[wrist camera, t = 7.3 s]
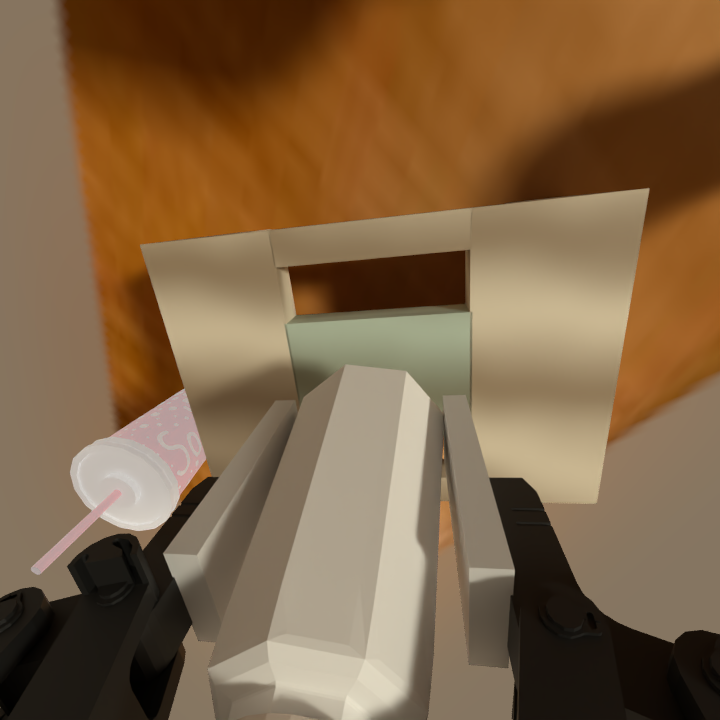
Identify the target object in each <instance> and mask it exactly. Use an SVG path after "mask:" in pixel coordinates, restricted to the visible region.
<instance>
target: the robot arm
mask: <svg viewBox="0 0 720 720" xmlns="http://www.w3.org/2000/svg"><path fill="white" fill-rule="evenodd" d="M297 414H298V412H297V406H296V401H295V400H276V401H275V402H274V403H273V405H272V406H271V408H270V409H269V410H268V412H267V413H266V414H265V416H264V417H263V418H262V420H261V421H260V422H259V424H258V425H257V427H256V428H255V429H254V431H253V432H252V433H251V435H250V436H249V437H248V439H247V440H246V441H245V443H244V444H243V446H242V447H241V448H240V450H239V451H238V452H237V454H236V455H235V456H234V458H233V459H232V460H231V462H230V463H229V465H228V466H227V467H226V469H225V470H224V471H223V473H222V474H221V475H220V477H207V478H206V479H205V480H203V481H202V482H201V483H199V484H198V485H197V486H195V487H194V488H193V489H192V490H191V491H190V492H189V494H188V495H187V496H186V497H185V499H184V500H183V501H182V502H181V505H180V506H178V508H177V509H176V510H175V511H174V512H173V514H172V517H170V518H169V519H168V520H167V521H166V522H165V524H164V525H163V526H162V528H161V529H160V530H159V531H158V532H157V534H156V535H155V536H154V537H153V539H152V540H151V541H150V542H149V544H148V545H147V546H146V547H145V549H144V550H143V551H142V549H141V546H140V544H139V541H138V539H137V537H135V536H133V535H131V534H116V535H113V536H110V537H106V538H104V539H102V540H100V541H98V542H96V543H94V544H92V545H90V546H89V547H88V548H86V549H85V550H83V551H82V552H81V553H79V554H78V555H77V556H76V557H75V558H74V559H73V560H72V562H71V563H70V564H69V565H68V566H67V567H68V569H69V571H70V573H71V575H72V577H73V578H74V580H75V582H76V584H77V586H78V588H79V589H80V591H81V593H82V594H80V595H75V596H71V597H67V598H63V599H59V600H55V601H51V602H49V601H48V599H47V598H46V596H45V594H44V593H43V591H42V590H41V589H38V588H35V587H31V588H23V589H20V590H17V591H14V592H12V593H10V594H7V595H5V596H3V597H2V598H0V707H1V708H0V720H168V718H169V714H170V711H171V708H172V704H173V701H174V697H175V694H176V690H177V686H178V683H179V680H180V676H181V672H182V669H183V666H184V661H185V649H184V646H183V643H182V641H183V639H184V638H185V636H186V634H187V632H188V630H189V628H190V626H191V625H192V626H193V629H194V631H195V634H196V636H197V639H198V641H206V642H216V640H217V637H218V634H219V631H220V628H221V624H222V621H223V618H224V615H225V612H226V609H227V607H228V604H229V601H230V598H231V596H232V593H233V590H234V587H235V585H236V582H237V579H238V576H239V574H240V571H241V568H242V565H243V563H244V560H245V557H246V554H247V552H248V549H249V546H250V543H251V541H252V538H253V535H254V532H255V530H256V527H257V524H258V521H259V519H260V516H261V513H262V510H263V508H264V505H265V502H266V499H267V497H268V494H269V491H270V488H271V486H272V483H273V480H274V477H275V475H276V472H277V469H278V466H279V464H280V461H281V458H282V455H283V453H284V450H285V447H286V444H287V442H288V439H289V436H290V433H291V431H292V428H293V425H294V422H295V420H296V417H297ZM443 417H444V463H445V471H446V479H447V488H448V496H449V504H450V513H451V521H452V529H453V538H454V546H455V554H456V562H457V571H458V579H459V587H460V595H461V603H462V612H463V620H464V629H465V637H466V645H467V654H468V662H469V665H478V666H489V667H500V668H508V663H509V657H510V661H511V666H512V671H513V675H514V680H515V684H514V696H513V708H512V719H513V720H720V634H716V633H711V632H708V631H703V630H698V631H688V632H685V633H683V634H682V635H681V636H680V637H678V638H677V639H676V640H675V643H671V642H668V641H665V640H662V639H659V638H657V637H654V636H651V635H648V634H645V633H642V632H639V631H637V630H634V629H631V628H629V627H627V626H624V625H622V624H620V623H618V622H616V621H614V620H613V619H611V618H610V617H608V616H606V615H604V614H603V613H602V612H601V611H600V610H599V609H598V608H597V607H596V605H595V604H594V603H593V602H592V601H591V600H590V599H589V598H587V597H586V596H585V595H584V594H583V593H582V591H581V589H580V587H579V586H578V584H577V582H576V580H575V577H574V575H573V573H572V571H571V569H570V566H569V564H568V562H567V559H566V557H565V555H564V552H563V550H562V548H561V546H560V543H559V541H558V539H557V536H556V534H555V532H554V530H553V527H552V526H551V524H550V521H549V518H548V516H547V514H546V512H545V511H544V507H543V505H542V502H541V500H540V498H539V495H538V493H537V491H536V490H534V489H533V488H532V487H531V486H530V485H529V484H528V483H527V482H526V481H525V480H524V479H523V478H489V476H488V473H487V469H486V465H485V462H484V458H483V455H482V451H481V448H480V444H479V441H478V437H477V433H476V430H475V426H474V423H473V419H472V416H471V412H470V409H469V405H468V402H467V398H466V395H445V396H443Z"/></svg>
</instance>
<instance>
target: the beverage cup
mask: <svg viewBox="0 0 720 720" xmlns="http://www.w3.org/2000/svg"><path fill="white" fill-rule="evenodd" d="M205 460H206V456H205V453H204V449H203V446H202V443H201V440H200V437H199V433H198V430H197V427H196V424H195V420H194V417H193V414H192V411H191V408H190V404H189V401H188V398H187V395H186V392H185V388H184V389H183V390H181V391H179V392H178V393H176V394H175V395H173V396H172V397H170V398H169V399H167V400H166V401H164V402H162V403H161V404H159V405H158V406H156V407H155V408H153V409H152V410H150V411H148V412H147V413H145V414H144V415H142V416H141V417H139V418H138V419H136V420H135V421H133V422H131V423H130V424H128V425H127V426H125V427H124V428H122V429H121V430H119V431H118V432H116V433H114V434H113V435H111V436H110V437H108V438H104V439H99V440H96V441H95V442H94V443H93V444H91V445H88V446H86V447H85V448H84V449H83V450H81V451H80V453H78V454H77V455H76V456H75V457H74V458H73V461H72V466H71V470H70V475H71V478H72V482H73V486H74V489H75V491H76V492H77V494H78V495H79V497H80V498H81V499H82V501H83V502H84V504H85V505H86V506H87V507H88V508H90V509H91V510H92V511H91V512H90V514H88V515H87V516H86V517H85V518H84V519H83V520H82V521H81V522H80V523H79V524H78V525H76V527H74V528H73V529H72V530H71V531H70V532H69V533H68V534H67V535H66V536H65V537H64V538H63V539H61V540H60V541H59V542H58V543H57V544H56V545H55V546H54V547H53V548H52V549H51V550H50V551H49V552H47V553H46V555H44V556H43V557H42V558H41V559H40V560H39V561H38V562H37V563H36V564H35V565H33V567H31V570H32V572H34V573H35V574H41V573H42V572H43V571H44V570H45V569H46V568H47V567H48V566H49V565H50V564H51V563H52V562H53V561H54V560H55V559H56V558H57V557H58V556H59V555H60V554H61V553H62V552H63V551H64V550H65V549H67V548H68V547H69V546H70V545H71V544H72V543H73V542H74V541H75V540H76V539H77V538H78V537H79V536H80V535H81V534H82V533H83V532H84V531H85V530H86V529H87V528H88V527H89V526H90V525H91V524H92V523H93V522H94V521H95V520H96V519H97V518H98V517H101V518H102V519H104V520H106V521H108V522H110V523H112V524H114V525H116V526H118V527H121V528H126V529H131V530H136V531H141V530H148V529H155V528H156V527H158V526H159V525H161V524H162V523H163V522H165V521H166V520H167V519H168V518H169V517H170V514H171V512H172V511H173V510H174V509H175V507H176V505H177V502H178V500H179V497H180V494H181V493H182V491H183V490H184V489H185V487H186V486H187V485H188V483H189V482H190V480H191V479H192V478H193V476H194V475H195V473H196V472H197V471H198V469H199V468H200V466H201V465H202V464H203V462H204V461H205Z"/></svg>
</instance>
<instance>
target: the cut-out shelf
mask: <svg viewBox="0 0 720 720" xmlns="http://www.w3.org/2000/svg"><path fill="white" fill-rule="evenodd" d="M649 189H650V188H647V189H636V190H626V191H616V192H605V193H595V194H584V195H574V196H564V197H555V198H546V199H537V200H528V201H519V202H510V203H506V204H500V205H491V206H482V207H473V208H464V209H455V210H446V211H437V212H428V213H419V214H410V215H401V216H392V217H383V218H374V219H365V220H356V221H347V222H338V223H329V224H320V225H311V226H302V227H293V228H284V229H275V230H271V229H268V230H259V231H250V232H241V233H232V234H223V235H215V236H207V237H199V238H191V239H183V240H175V241H167V242H159V243H151V244H143V245H140V247H141V250H142V253H143V257H144V260H145V263H146V266H147V269H148V273H149V276H150V279H151V282H152V286H153V289H154V292H155V295H156V298H157V302H158V305H159V308H160V311H161V314H162V318H163V321H164V324H165V327H166V331H167V334H168V337H169V340H170V343H171V347H172V350H173V353H174V356H175V359H176V363H177V366H178V369H179V372H180V376H181V379H182V382H183V385H184V388H185V392H186V395H187V398H188V401H189V404H190V408H191V411H192V414H193V417H194V420H195V424H196V427H197V430H198V433H199V437H200V440H201V443H202V446H203V449H204V453H205V456H206V459H207V462H208V465H209V469H210V472H211V475H212V477H220V475H221V474H222V473H223V471H224V470H225V469H226V467H227V466H228V465H229V463H230V462H231V460H232V459H233V458H234V456H235V455H236V454H237V452H238V451H239V450H240V448H241V447H242V446H243V444H244V443H245V441H246V440H247V439H248V437H249V436H250V435H251V433H252V432H253V431H254V429H255V428H256V427H257V425H258V424H259V422H260V421H261V420H262V418H263V417H264V416H265V414H266V413H267V412H268V410H269V409H270V408H271V406H272V405H273V403H274V402H275V401H276V400H295V401H296V406H297V412H298V411H299V409H300V406H301V403H302V400H303V398H304V397H305V396H306V395H307V394H308V393H310V392H311V391H312V390H313V389H315V388H316V387H317V386H319V385H320V384H321V383H322V382H324V381H325V380H326V379H327V378H329V377H330V376H331V375H333V374H334V373H335V372H336V371H338V370H339V369H340V368H341V367H343V366H344V365H345V364H347V365H357V366H366V367H375V368H384V369H393V370H402V371H407V372H408V373H409V375H410V376H411V377H412V378H413V379H414V380H415V381H416V383H417V384H418V385H419V386H420V387H421V388H422V389H423V391H424V392H425V393H426V394H427V395H428V396H429V397H430V399H431V400H432V401H433V402H434V403H435V404H436V405H437V407H438V408H439V409H440V410H441V411H442V412H443V396H445V395H466V398H467V402H468V405H469V409H470V412H471V416H472V419H473V423H474V426H475V430H476V433H477V437H478V441H479V444H480V448H481V451H482V455H483V458H484V462H485V465H486V469H487V473H488V476H489V478H523V479H524V480H525V481H526V482H527V483H528V484H529V485H530V486H531V487H532V488H533V489H534V490H536V491H537V493H538V495H539V498H540V500H541V502H542V503H583V504H584V503H585V504H586V503H587V504H596V503H597V497H598V492H599V485H600V479H601V474H602V468H603V462H604V456H605V450H606V444H607V438H608V432H609V426H610V420H611V414H612V409H613V403H614V397H615V391H616V385H617V379H618V373H619V367H620V361H621V355H622V349H623V343H624V337H625V331H626V325H627V319H628V313H629V308H630V302H631V296H632V290H633V284H634V278H635V272H636V266H637V260H638V254H639V248H640V242H641V236H642V230H643V224H644V218H645V212H646V207H647V201H648V195H649ZM461 250H465V304H453V305H438V306H424V307H410V308H395V309H381V310H366V311H352V312H337V313H323V314H308V315H296V311H295V305H294V300H293V294H292V288H291V282H290V276H289V271H288V266H299V265H310V264H321V263H331V262H342V261H353V260H364V259H374V258H385V257H396V256H407V255H417V254H428V253H439V252H450V251H461ZM443 436H444V429H443ZM440 501H449V496H448V488H447V479H446V471H445V463H444V459H442V474H441V497H440Z"/></svg>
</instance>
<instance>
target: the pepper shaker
mask: <svg viewBox="0 0 720 720" xmlns="http://www.w3.org/2000/svg"><path fill="white" fill-rule="evenodd" d="M443 429H444V417H443V412H442V411H441V410H440V409H439V408H438V407H437V405H436V404H435V403H434V402H433V401H432V400H431V399H430V397H429V396H428V395H427V394H426V393H425V392H424V391H423V389H422V388H421V387H420V386H419V385H418V384H417V383H416V381H415V380H414V379H413V378H412V377H411V376H410V375H409V373H408V372H407V371H402V370H393V369H384V368H375V367H366V366H357V365H347V364H345V365H344V366H343V367H341V368H340V369H339V370H338V371H336V372H335V373H334V374H333V375H331V376H330V377H329V378H327V379H326V380H325V381H324V382H322V383H321V384H320V385H319V386H317V387H316V388H315V389H313V390H312V391H311V392H310V393H308V394H307V395H306V396H305V397H304V398H303V400H302V403H301V406H300V409H299V411H298V414H297V417H296V420H295V422H294V425H293V428H292V431H291V433H290V436H289V439H288V442H287V444H286V447H285V450H284V453H283V455H282V458H281V461H280V464H279V466H278V469H277V472H276V475H275V477H274V480H273V483H272V486H271V488H270V491H269V494H268V497H267V499H266V502H265V505H264V508H263V510H262V513H261V516H260V519H259V521H258V524H257V527H256V530H255V532H254V535H253V538H252V541H251V543H250V546H249V549H248V552H247V554H246V557H245V560H244V563H243V565H242V568H241V571H240V574H239V576H238V579H237V582H236V585H235V587H234V590H233V593H232V596H231V598H230V601H229V604H228V607H227V609H226V612H225V615H224V618H223V621H222V624H221V628H220V631H219V634H218V637H217V640H216V644H215V647H214V650H213V653H212V656H211V660H210V663H209V666H208V675H209V681H210V686H211V693H212V700H213V705H214V711H215V718H216V720H427V717H428V711H429V710H428V709H429V699H430V689H431V676H432V666H433V654H434V632H435V631H434V630H435V610H436V588H437V565H438V564H437V563H438V542H439V519H440V497H441V474H442V451H443Z"/></svg>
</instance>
